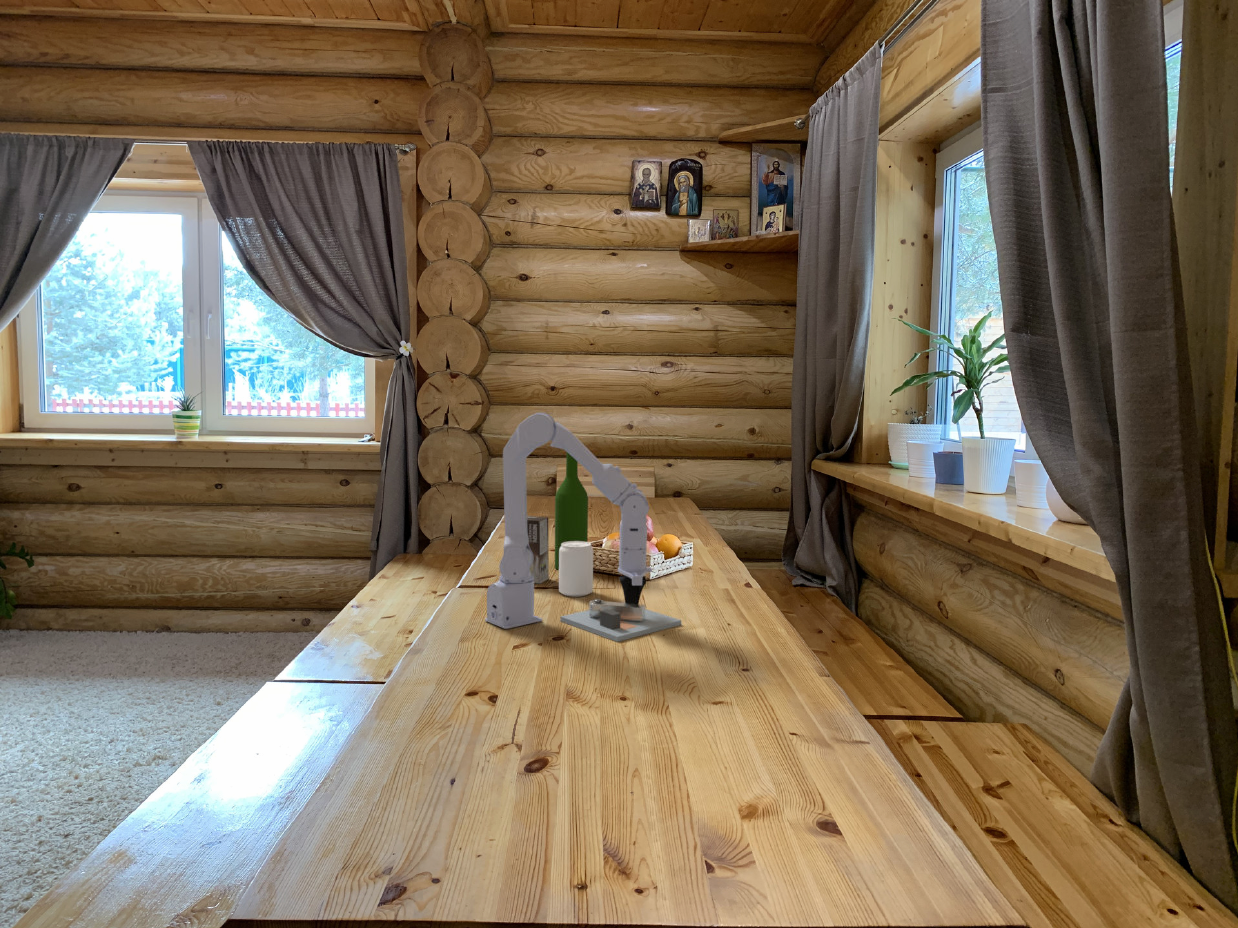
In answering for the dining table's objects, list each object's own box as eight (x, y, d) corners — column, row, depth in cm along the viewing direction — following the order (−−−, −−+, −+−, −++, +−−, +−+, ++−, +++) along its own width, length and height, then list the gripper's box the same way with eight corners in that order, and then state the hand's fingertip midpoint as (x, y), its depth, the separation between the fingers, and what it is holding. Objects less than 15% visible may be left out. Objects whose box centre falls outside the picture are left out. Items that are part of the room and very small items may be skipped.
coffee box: (549, 578, 209) (550, 516, 207) (540, 584, 203) (540, 520, 201) (517, 575, 212) (517, 514, 210) (506, 581, 205) (506, 518, 204)
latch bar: (586, 616, 170) (586, 601, 170) (592, 612, 174) (592, 597, 173) (641, 621, 167) (641, 606, 167) (645, 617, 170) (645, 601, 170)
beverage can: (591, 597, 190) (592, 547, 189) (557, 597, 191) (557, 546, 189) (593, 589, 198) (594, 540, 197) (560, 588, 199) (560, 540, 197)
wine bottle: (593, 566, 223) (595, 448, 220) (574, 573, 215) (576, 450, 212) (567, 562, 228) (568, 447, 224) (547, 568, 220) (548, 449, 217)
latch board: (617, 641, 158) (617, 621, 158) (560, 620, 171) (560, 602, 171) (681, 624, 170) (681, 606, 170) (623, 606, 183) (623, 589, 183)
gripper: (657, 554, 164) (656, 620, 165) (646, 540, 178) (645, 601, 179) (622, 554, 163) (621, 620, 164) (614, 540, 177) (613, 601, 178)
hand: (631, 610), depth 172 cm, fingers closed, pressing on latch bar
